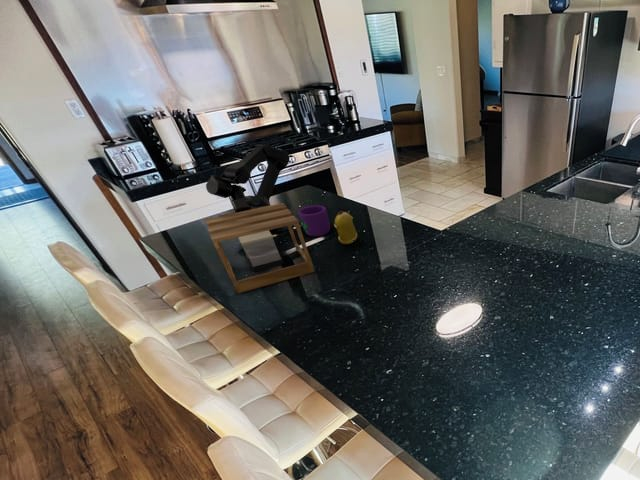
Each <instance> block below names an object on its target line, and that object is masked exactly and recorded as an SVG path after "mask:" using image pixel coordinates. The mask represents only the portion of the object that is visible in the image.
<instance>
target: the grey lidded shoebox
mask: <svg viewBox="0 0 640 480" xmlns="http://www.w3.org/2000/svg"><path fill="white" fill-rule="evenodd" d="M238 240H239V242H240V244H241V246H242V249H243V250H244V253H245V255H246V257H247V260H248V262H249V264H250V267H251V269H252V271H253V273H257V272H260V271H264V270H267V269H272V268H275V267H279V266H283V265H285V262H284V259H283V257H282V256H281V254H280V252H279V250H278V247H277V246H276V245H277V244H276V243H275V241H274V237H273V234H271V233H270V231H269V230H267V231H263V232H259V233H255V234H250V235H246V236H242V237H238Z"/></svg>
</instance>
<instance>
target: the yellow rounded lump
mask: <svg viewBox="0 0 640 480" xmlns="http://www.w3.org/2000/svg"><path fill="white" fill-rule="evenodd" d="M353 219H354V217H353V216H352V215H351V214H350V213H348V212H346V211H343V210H340V211H338V213H337V214H336V217H335V218H334V224H333V226H334V227H335V229H336V232H337V234H338V242H339V243H340V244H341V245H351V244H352V243H354V242H355V241H357V239H358V237H359V236H358V231H356V230H357V229H356V227H355V224H354V222H353ZM353 240H354V241H353Z"/></svg>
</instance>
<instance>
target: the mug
mask: <svg viewBox="0 0 640 480" xmlns="http://www.w3.org/2000/svg"><path fill="white" fill-rule="evenodd" d="M297 214H298V218H299V220H300V222H301V223H300V224H301V225H302V228H303V230H304V232H305V233H306V235H307V236H309V237H321V236H324V235H327V234H328V233H329V232H330V231H331V223H330V218H329V214H328V210H327V208H326V207H325V206H323V205H318V204H317V205H316V204H315V205H308V206H303V207H301V209H299V210H298V212H297Z"/></svg>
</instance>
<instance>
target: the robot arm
mask: <svg viewBox="0 0 640 480" xmlns="http://www.w3.org/2000/svg"><path fill="white" fill-rule="evenodd" d="M290 159H291V158H290V155H289V152H287V150H286V149H280V148H276V147H272V146H269V145H268V144H256V145H255V146H254V148H253V149H252V150H251V151H250V152H249V153H248V154H247V155H246V156H244V157H243V158H242V159H241V160H240V161H239V162H236V163H233V164H230V165H228V166H226V167H225V168H224V170H223V173H222V174H221V175H220V176H218V175H215V174H214V175H213V174H211V175H210V178H209V179H208V180H207V182H206V184H205V189H206V191H207V193H208V194H210V195H213V196H217V197H220V198H222V199H227V198H228V199H229V201H230V204H231V206H232V208H233V211H234V213H238V212H242V211H247V210H252V209H257V208H261V207H266V206H271V202H270V199H271V197H272V194H273V192H274V188H275V186H276V184H277V181H278V178H279V175H280V174H281V172H282V171H283V170H284V169H286V168H287V166H288V165H289V163H290ZM264 160H265V161H266V164H267V167H266V169H265V171H264V174H263V177H262V178H261V182H260V184H259V187H258V190H257V191H256V194H255V195H250V194H249V195H245V192H246V191H247V189H246V188H245V187H243V186H241V185H245V184H247V183H248V181H249V180H250V179H251V176H252V175H251V174H252V171H254V169H256V168H257V167H258V166H259V165H260V164H261V163H262V162H263V161H264ZM228 214H229V213H225V214H224V213H223V214H220V215H218V216H217V217H219V216H223V215H228ZM269 231H270V233H271V235H274V234H278V233H281V232H280V230H279V228H276V229H272V230H269Z"/></svg>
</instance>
